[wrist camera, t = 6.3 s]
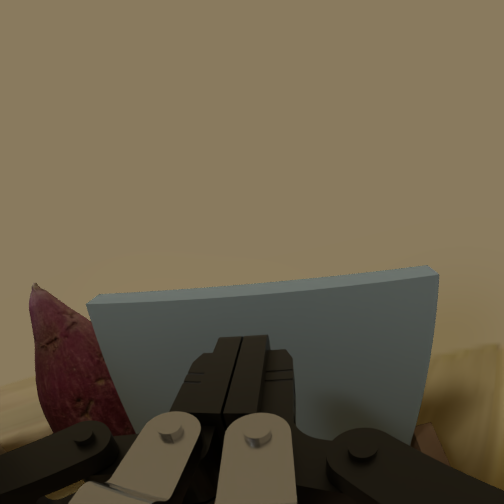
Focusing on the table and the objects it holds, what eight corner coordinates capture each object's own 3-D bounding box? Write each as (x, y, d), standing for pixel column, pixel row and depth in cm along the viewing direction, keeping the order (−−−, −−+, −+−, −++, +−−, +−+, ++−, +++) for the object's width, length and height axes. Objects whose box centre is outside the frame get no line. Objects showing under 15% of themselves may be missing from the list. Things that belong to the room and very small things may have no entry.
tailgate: (160, 479, 15) (85, 304, 12) (171, 452, 18) (112, 284, 15) (401, 471, 13) (439, 274, 10) (393, 443, 16) (415, 256, 13)
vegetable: (59, 452, 22) (-32, 324, 19) (119, 393, 31) (46, 275, 27) (111, 487, 17) (-22, 317, 13) (181, 402, 25) (90, 249, 22)
